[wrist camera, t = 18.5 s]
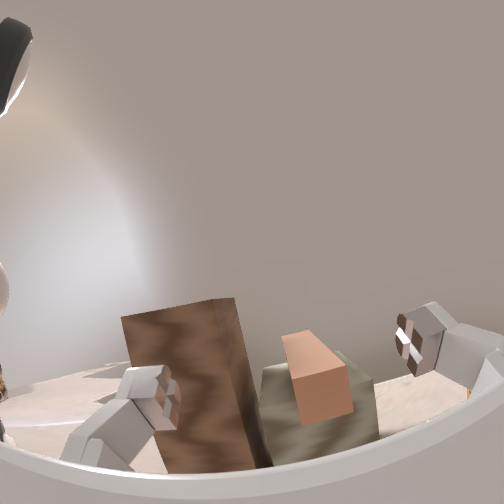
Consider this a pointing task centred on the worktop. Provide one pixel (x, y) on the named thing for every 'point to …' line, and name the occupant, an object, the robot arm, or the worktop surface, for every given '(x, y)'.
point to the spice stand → (236, 396)
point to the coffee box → (3, 387)
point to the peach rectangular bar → (316, 378)
